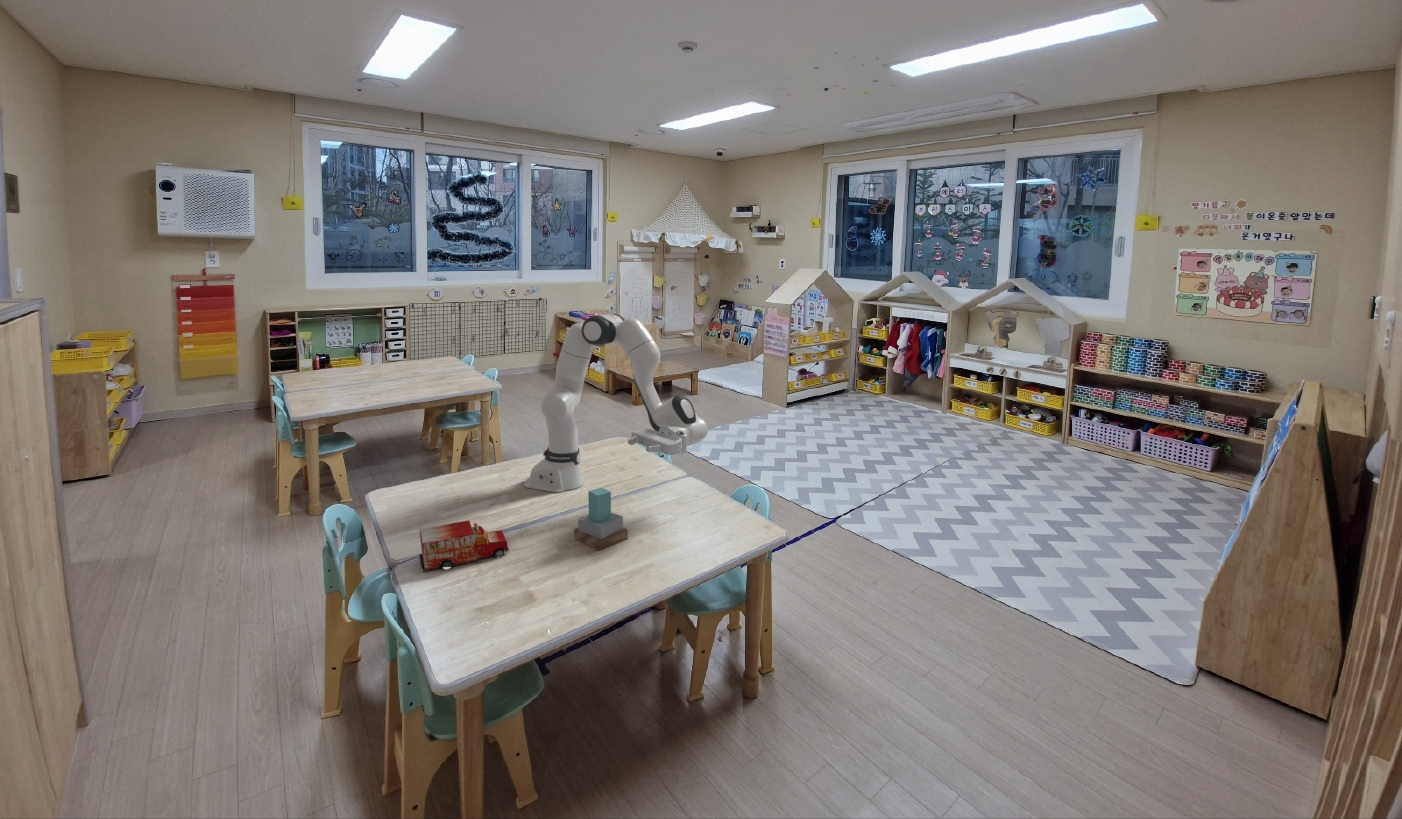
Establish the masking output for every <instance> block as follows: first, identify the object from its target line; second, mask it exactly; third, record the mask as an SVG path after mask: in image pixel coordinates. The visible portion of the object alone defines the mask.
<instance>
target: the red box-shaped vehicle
mask: <svg viewBox="0 0 1402 819" xmlns="http://www.w3.org/2000/svg"><path fill="white" fill-rule="evenodd" d="M419 539H420V548H421V554H419V560H420V566H421V572H424V571H428V570H434V568H435V569H438V568H439V567H441V568H443V567H452V566H455V565H460V564H465V563H471V562H475V561H476V562H477V559H480V558H481V559H482V558H486V557H492V556H493V555H494V557H495V558H496V557H500V558H503V557H504V556H506V555H505V553H507V552H509V551H510V550H509V549H510V548H509V546H508V540H507V539H506V536H505V534H504V532H503V530H492V531H486V530H485V529H484V527H482V525H478V523H477V522H474V523H473V526H472V525H471V522H470V520H465V521H457V522H451V523H445V524H441V525H433V526H427V527H422V528H419ZM502 556H503V557H502ZM452 568H453V567H452Z"/></svg>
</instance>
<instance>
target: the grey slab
mask: <svg viewBox="0 0 1402 819" xmlns="http://www.w3.org/2000/svg"><path fill="white" fill-rule="evenodd" d="M577 523H578V524H577V526H578V527H577V528H578V531H580V532H583V533H586V534H588V535H591V536H594V537H597V538H599V539H603V538H605V537H607V536H609V535H611V534H613V533H615V532H617V531H619V530H620V529H622V528H623V527H624V516H622V515H619V514H617V513H613V512H611V519H608V520H604V521H601V522H596V521H594V520H592V519H591V518H589V513H588V514H586V515H583V516H582V517H580V518H578V519H577Z"/></svg>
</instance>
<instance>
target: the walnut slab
mask: <svg viewBox="0 0 1402 819" xmlns="http://www.w3.org/2000/svg"><path fill="white" fill-rule="evenodd" d="M628 530H629V529H628V528H625V527H624V526H623V528H622V529H620V530H619V531H617V532H615V533H613V534H611V535H609V536H607V537H605V538H603V539H599V538H597V537H594V536H591V535H588V534H586V533H583V532H580V531H578V527H576V528H574V530H573V532H574V540H575V541H578V542H579V543H582V544H584V545H585V546H587V547H589V548H591V549H593V550H594V551H597V552H600V551H603V550H605V549H607V548H610V547H612V546H614V545H617V544H620V543H622V542H624V541H627V540H628V539H629V537H628V535H629V534H628V533H629V532H628Z"/></svg>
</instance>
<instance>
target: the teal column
mask: <svg viewBox="0 0 1402 819" xmlns="http://www.w3.org/2000/svg"><path fill="white" fill-rule="evenodd" d="M611 494H612V491H610V490H607V489H606V488H605V487H602V486H601V487H598V488H594V489H591V490H588V514H589V518H591V519H592V520H594V521H596V522H601V521H604V520H608V519H611V513H612V495H611Z"/></svg>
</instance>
